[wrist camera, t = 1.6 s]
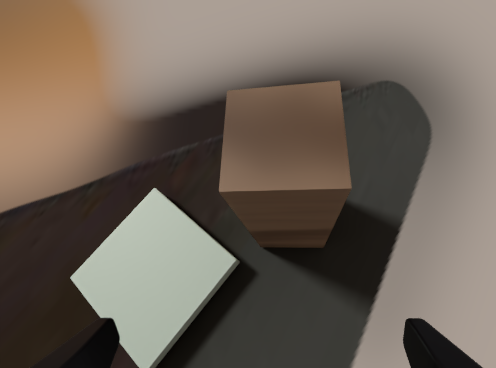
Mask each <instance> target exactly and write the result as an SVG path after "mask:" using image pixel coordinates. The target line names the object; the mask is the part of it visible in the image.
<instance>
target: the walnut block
mask: <svg viewBox="0 0 496 368" xmlns="http://www.w3.org/2000/svg"><path fill="white" fill-rule="evenodd" d="M350 191H351V179H350V170H349V161H348V152H347V143H346V134H345V125H344V115H343V106H342V97H341V89H340V81H331V82H320V83H309V84H298V85H286V86H276V87H264V88H253V89H242V90H230V91H227V101H226V113H225V126H224V137H223V149H222V161H221V173H220V185H219V192H220V194H221V195H222V196H223V198H224V199H225V200H226V202H227V203H228V204H229V206H230V207H231V208H232V210H233V211H234V212H235V214H236V215H237V216H238V218H239V219H240V220H241V222H242V223H243V224H244V226H245V227H246V228H247V229H248V231H249V232H250V233H251V235H252V236H253V237H254V239H255V240H256V241H257V243H258V244H259V245H260V247H293V248H324V246H325V244H326V241H327V239H328V237H329V235H330V233H331V231H332V229H333V227H334V224H335V222H336V220H337V218H338V216H339V214H340V212H341V210H342V207H343V205H344V203H345V201H346V199H347V197H348V195H349V193H350Z"/></svg>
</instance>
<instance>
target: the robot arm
mask: <svg viewBox="0 0 496 368" xmlns="http://www.w3.org/2000/svg"><path fill="white" fill-rule="evenodd" d="M119 341H120V335H119V332H118V330H117V327H116V324H115V321H114V319H112V318H99V319H97V320H96V321H94V322H93V323H92V324H90V325H89V326H87V327H86V328H85V329H83V330H82V331H80V332H79V333H78V334H76V335H75V336H73V337H72V338H71V339H69V340H68V341H67V342H65V343H64V344H62V345H61V346H60V347H58V348H57V349H55V350H54V351H53V352H51V353H50V354H48V355H47V356H46V357H44V358H43V359H42V360H40V361H39V362H37V363H36V364H35V365H33V366H32V367H30V368H110V366H111V364H112V361H113V358H114V356H115V353H116V350H117V348H118V345H119ZM403 344H404V348H405V351H406V354H407V357H408V360H409V363H410V366H411V368H482V367H481V366H480V365H479V364H478V363H476V362H475V361H474V360H473V359H471V358H470V357H469V356H468V355H467V354H465V353H464V352H463V351H462V350H460V349H459V348H458V347H457V346H455V345H454V344H453V343H452V342H451V341H449V340H448V339H447V338H445V337H444V336H443V335H442V334H441V333H439V332H438V331H437V330H436V329H435V328H433V327H432V326H431V325H430V324H428V323H427V322H426V321H425V320H423V319H419V318H414V319H413V318H409V319H407V320H406V322H405V328H404V337H403Z"/></svg>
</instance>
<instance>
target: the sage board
mask: <svg viewBox="0 0 496 368" xmlns="http://www.w3.org/2000/svg"><path fill="white" fill-rule="evenodd" d="M239 263H240V261H238V260H237V259H236V258H235V257H234V256H233V255H232V254H231V253H229V252H228V251H227V250H226V249H225V248H224V247H223V246H221V245H220V244H219V243H218V242H217V241H216V240H215V239H213V238H212V237H211V236H210V235H209V234H208V233H207V232H205V231H204V230H203V229H202V228H201V227H200V226H199V225H197V224H196V223H195V222H194V221H193V220H192V219H191V218H189V217H188V216H187V215H186V214H185V213H184V212H183V211H182V210H180V209H179V208H178V207H177V206H176V205H175V204H174V203H172V202H171V201H170V200H169V199H168V198H167V197H166V196H164V195H163V194H162V193H161V192H160V191H158V190H157V189H156V188H154V189H153V190H152V191H151V192H150V193H149V194H148V195H147V196H146V197H145V198H144V199H143V200H142V202H141V203H140V204H139V205H138V206H137V207H136V208H135V209H134V210H133V211H132V212H131V213H130V214H129V215H128V217H127V218H126V219H125V220H124V221H123V222H122V223H121V224H120V225H119V226H118V227H117V228H116V229H115V230H114V231H113V233H112V234H111V235H110V236H109V237H108V238H107V239H106V240H105V241H104V242H103V243H102V244H101V245H100V246H99V248H98V249H97V250H96V251H95V252H94V253H93V254H92V255H91V256H90V257H89V258H88V259H87V260H86V261H85V262H84V264H83V265H82V266H81V267H80V268H79V269H78V270H77V271H76V272H75V273H74V274H73V275H72V276H71V277H70V278H71V280H72V281H73V282H74V283H75V285H76V286H77V287H78V289H79V290H80V291H81V293H82V294H83V295H84V297H85V298H86V299H87V300H88V302H89V303H90V304H91V306H92V307H93V308H94V310H95V311H96V312H97V313H98V315H99V316H100V317H101V318H112V319H114V321H115V324H116V327H117V330H118V332H119V335H120V341H119V342H120V343H121V345H122V346H123V347H124V349H125V350H126V351H127V353H128V354H129V355H130V356H131V358H132V359H133V360H134V362H135V363H136V364H137V366H138V367H139V368H156V366H157V365H158V364H159V363H160V361H161V360H162V359H163V358H164V356H165V355H166V354H167V353H168V351H169V350H170V349H171V348H172V346H173V345H174V344H175V343H176V341H177V340H178V339H179V338H180V336H181V335H182V334H183V333H184V331H185V330H186V329H187V328H188V326H189V325H190V324H191V323H192V321H193V320H194V319H195V318H196V316H197V315H198V314H199V313H200V311H201V310H202V309H203V308H204V306H205V305H206V304H207V303H208V301H209V300H210V299H211V298H212V296H213V295H214V294H215V293H216V291H217V290H218V289H219V288H220V286H221V285H222V284H223V283H224V281H225V280H226V279H227V278H228V276H229V275H230V274H231V273H232V271H233V270H234V269H235V268H236V267H237V265H238V264H239Z"/></svg>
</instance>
